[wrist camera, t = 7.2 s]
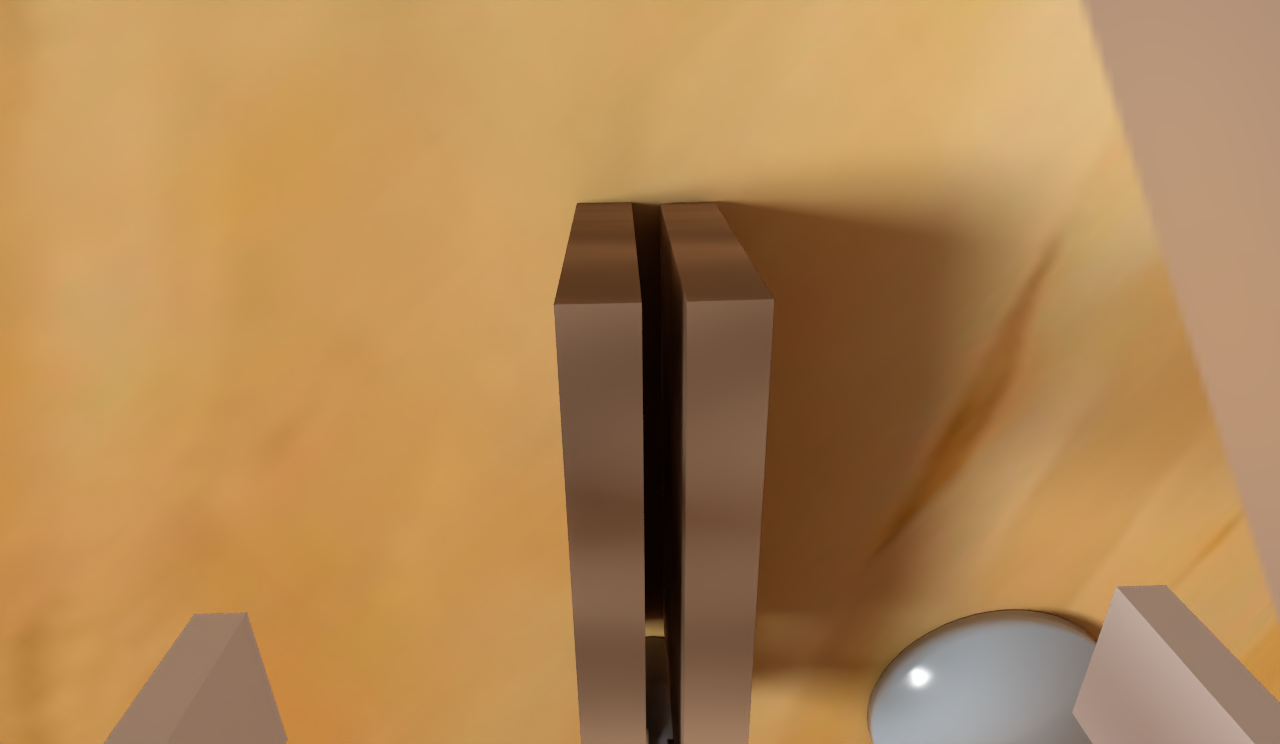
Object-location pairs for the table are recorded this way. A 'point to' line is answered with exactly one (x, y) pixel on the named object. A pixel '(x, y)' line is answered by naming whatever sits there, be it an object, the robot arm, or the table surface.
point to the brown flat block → (607, 480)
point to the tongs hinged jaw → (711, 468)
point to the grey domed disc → (985, 683)
